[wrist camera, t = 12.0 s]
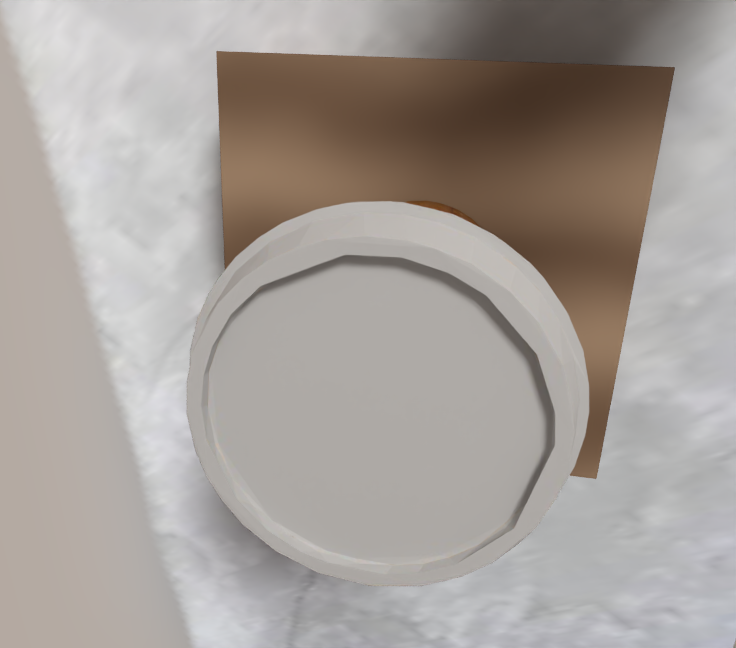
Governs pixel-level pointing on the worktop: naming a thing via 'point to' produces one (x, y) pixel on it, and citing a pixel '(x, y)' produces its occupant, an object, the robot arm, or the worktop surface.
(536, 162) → the walnut base
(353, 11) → the worktop surface
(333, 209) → the disposable coffee cup
